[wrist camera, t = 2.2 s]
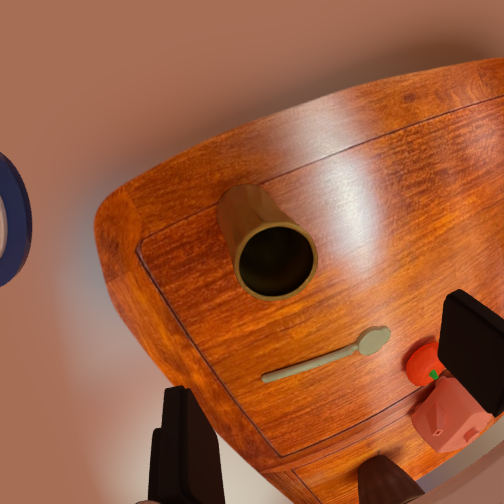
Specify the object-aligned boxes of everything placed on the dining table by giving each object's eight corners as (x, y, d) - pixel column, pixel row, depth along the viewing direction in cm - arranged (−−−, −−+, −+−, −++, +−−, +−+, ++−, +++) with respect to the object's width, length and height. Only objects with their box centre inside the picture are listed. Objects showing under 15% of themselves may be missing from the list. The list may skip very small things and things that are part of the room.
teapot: (387, 415, 49) (420, 468, 35) (427, 365, 46) (471, 415, 32) (443, 416, 54) (473, 455, 41) (476, 375, 51) (511, 411, 38)
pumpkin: (441, 344, 44) (462, 365, 38) (410, 378, 46) (428, 400, 40) (427, 327, 42) (450, 349, 36) (392, 364, 43) (412, 389, 37)
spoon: (264, 387, 40) (265, 393, 39) (257, 365, 39) (258, 371, 38) (388, 342, 42) (392, 347, 40) (389, 319, 40) (393, 323, 39)
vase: (282, 229, 33) (334, 286, 20) (228, 249, 33) (246, 321, 20) (264, 175, 31) (310, 199, 18) (207, 196, 31) (210, 236, 17)
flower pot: (330, 482, 55) (350, 534, 41) (368, 446, 52) (398, 502, 37) (373, 477, 59) (395, 522, 45) (410, 443, 56) (439, 489, 41)
